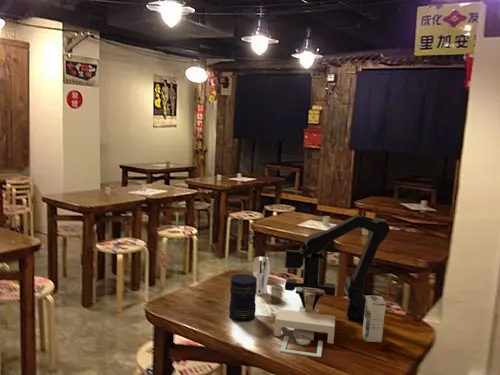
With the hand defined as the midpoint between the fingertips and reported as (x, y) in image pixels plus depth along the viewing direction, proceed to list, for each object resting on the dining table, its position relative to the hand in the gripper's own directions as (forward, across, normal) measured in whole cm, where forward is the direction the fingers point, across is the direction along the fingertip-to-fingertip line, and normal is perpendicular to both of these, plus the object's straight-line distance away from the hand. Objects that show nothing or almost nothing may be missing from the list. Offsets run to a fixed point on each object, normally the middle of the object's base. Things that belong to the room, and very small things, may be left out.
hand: (308, 308), depth 181 cm
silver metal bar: (+3, 0, +8) cm, 8 cm away
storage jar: (+3, +24, +8) cm, 26 cm away
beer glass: (+3, +22, -18) cm, 29 cm away
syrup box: (+3, -23, +12) cm, 26 cm away
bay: (+3, 0, +25) cm, 25 cm away
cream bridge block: (+3, 0, +16) cm, 16 cm away
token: (+3, 0, +22) cm, 23 cm away
